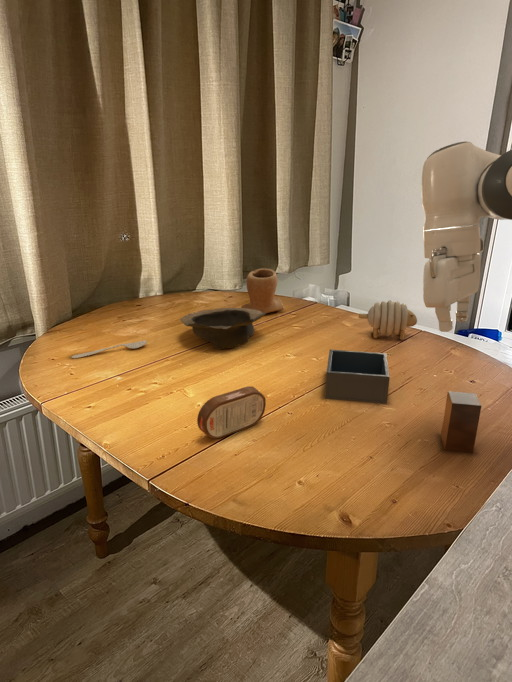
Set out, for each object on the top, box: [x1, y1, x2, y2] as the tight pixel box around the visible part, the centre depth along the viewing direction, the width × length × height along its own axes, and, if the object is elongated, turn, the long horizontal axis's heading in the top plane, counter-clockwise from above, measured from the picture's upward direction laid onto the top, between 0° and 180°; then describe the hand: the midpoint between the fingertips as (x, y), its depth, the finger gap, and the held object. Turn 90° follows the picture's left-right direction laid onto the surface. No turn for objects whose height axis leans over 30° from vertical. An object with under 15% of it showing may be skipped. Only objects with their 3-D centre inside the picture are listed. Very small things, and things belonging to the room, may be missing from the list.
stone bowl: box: [180, 307, 268, 350], centre depth 147 cm, size 25×25×9 cm
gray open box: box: [324, 349, 390, 405], centre depth 117 cm, size 14×14×7 cm
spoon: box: [71, 340, 148, 359], centre depth 138 cm, size 4×21×2 cm, turn 114°
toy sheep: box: [358, 299, 418, 341], centre depth 148 cm, size 11×17×11 cm, turn 84°
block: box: [440, 390, 482, 454], centre depth 94 cm, size 5×5×10 cm
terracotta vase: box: [240, 267, 285, 314], centre depth 169 cm, size 15×12×15 cm
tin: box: [196, 385, 267, 439], centre depth 99 cm, size 15×3×8 cm, turn 126°
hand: (454, 326), depth 87 cm, fingers open, 8 cm apart
